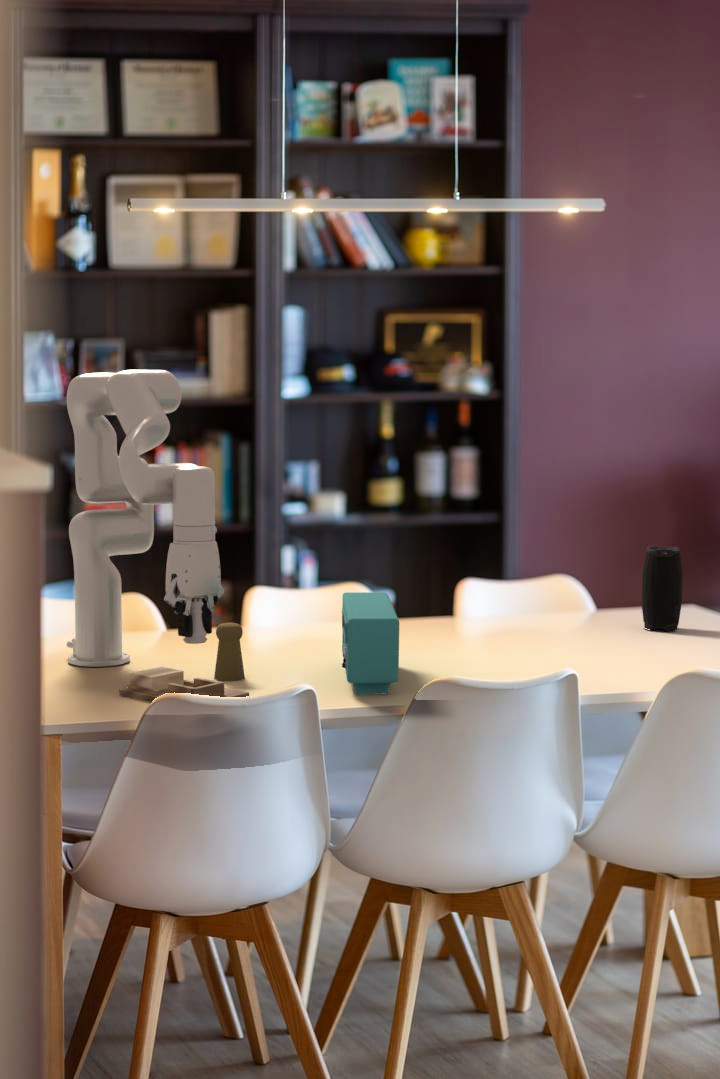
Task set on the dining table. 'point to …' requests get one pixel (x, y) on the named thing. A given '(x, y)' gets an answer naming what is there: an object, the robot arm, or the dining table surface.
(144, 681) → the cream rectangular block
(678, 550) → the portable speaker
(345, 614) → the radio
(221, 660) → the cork
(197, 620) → the rook chess piece
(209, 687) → the board
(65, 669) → the dining table surface
